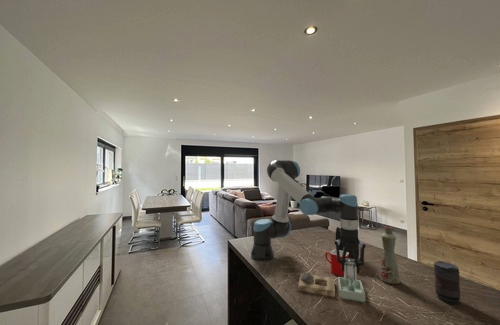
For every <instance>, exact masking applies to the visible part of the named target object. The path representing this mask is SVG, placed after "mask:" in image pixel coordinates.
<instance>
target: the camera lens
mask: <svg viewBox="0 0 500 325" xmlns="http://www.w3.org/2000/svg"><path fill="white" fill-rule="evenodd" d="M433 274H434V281H435V282H434V287H435V288H434V289H435V293H436V294H437V295H436V296H437V298H438V299H439V300H440V301H441V302H444V303H447V304H449V305H459V303H460V300H461V290H460V289H461V288H460V279H461V278H460V269H459V267H458V266H457V265H455V264H453V263H451V262H448V261H442V260H441V261H440V260H439V261H434V264H433Z"/></svg>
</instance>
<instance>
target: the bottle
mask: <svg viewBox="0 0 500 325" xmlns="http://www.w3.org/2000/svg"><path fill="white" fill-rule="evenodd" d="M380 236H381V241H382V247H383V249H382V253H381V254H382V256H381V263H380V268H379V273H378V277H379V279H380V280H381V281H382V282H384V283H386V284H389V285H397V284H400V283H401V277H400V272H399V269H398V268H399V267H398V263H397V258H396V254H395V245H396V239H397V237H396V236H395V235H394V233H393V227H392V226H391V225H385V226H384V232H383V233H382V234H381V235H380Z"/></svg>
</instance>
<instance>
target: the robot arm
mask: <svg viewBox="0 0 500 325" xmlns="http://www.w3.org/2000/svg"><path fill="white" fill-rule="evenodd" d="M266 173H267V176H268V177H269V179H270V180H271V181H272V182H275V183H277V184H278V189H277V195H276V196H277V197H276V204H275V211H274V214H273V215H272V216H271V219H269V218H264V219H263V218H261V219H258V220H256V221H255V222H254V223H253V229H252V230H253V246H252V248H251V252H250V257H251V259H253V260H255V261H259V262H268V261H271V260H273V259H274V257H275V252H274V249H273V246H272V240H273V239H279V238H284V237H288V235H290V234H291V232H292V223H291V221H290V219H289V217H288V212H289V208H290V207H289V205H290V200H291V198H292V199H294V200H295V201H296V202H297V203H298V204H299V209H300V212H301V213H302V214H303V215H305V216H313V215H319V214H325V213H327V214H328V213H334V214H335V213H336V214H339V219H340V220H339V223H340V224H339V226H340V227H339V228H340V231H341V237H340V239H339V240H336V239H334V242H333V243H334V244H335V250H336V252H337V262H338V263H341V269H342V271H344V277H343V278H345V280H347V277H346V264H345V258H346V252H347V249H349V248H350V249H353V254H354V258H355V262H356V265H354V270H355V281H356V282H357V280H358V275H359V274H360V267H364V264H365V263H364V262H365V249H366V247H367V245H366V243H365V242H362V241H360V239H359V218H358V214H359V213H358V211H359V210H358V206H359V204H358V197H357V195H356V194H344V193H343V194H339V197H334V196H329V195H328V196H327V195H322V196H321V197H315V196H313V195H312V194H311V193H310V192H308V190H306V189H305V188H304V187H303V186H302V185H300V184H299V183H298V182H297V181H296V179H297V178H298V177H299V176H300V174H301V167H300V165H299V163H297V161H295V160H289V159H286V160H285V159H283V160H282V159H275V160H272V161H271V162H269V164H268V165H267V168H266ZM340 242H341V243H342V245H343V246H344V248H343V254H342V260H341V259H340V253H339V245H340ZM358 244H359V258H357V253H356V247H357V246H358ZM357 274H358V275H357Z"/></svg>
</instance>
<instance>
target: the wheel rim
mask: <svg viewBox="0 0 500 325" xmlns="http://www.w3.org/2000/svg"><path fill="white" fill-rule="evenodd" d="M340 228H341V227H338V226H336V228H335V240H339V239H340V237H341V231H340ZM343 248H344V246H343V245H342V243H341V242H340V245H339V250H341V251H343ZM347 252H348V253H349V255H348V258H350V259H354V260H355V258H354V254H353V249H350V248H349V249H347ZM356 253H357V258H358V259H360V244H358V246H357V247H356Z"/></svg>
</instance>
